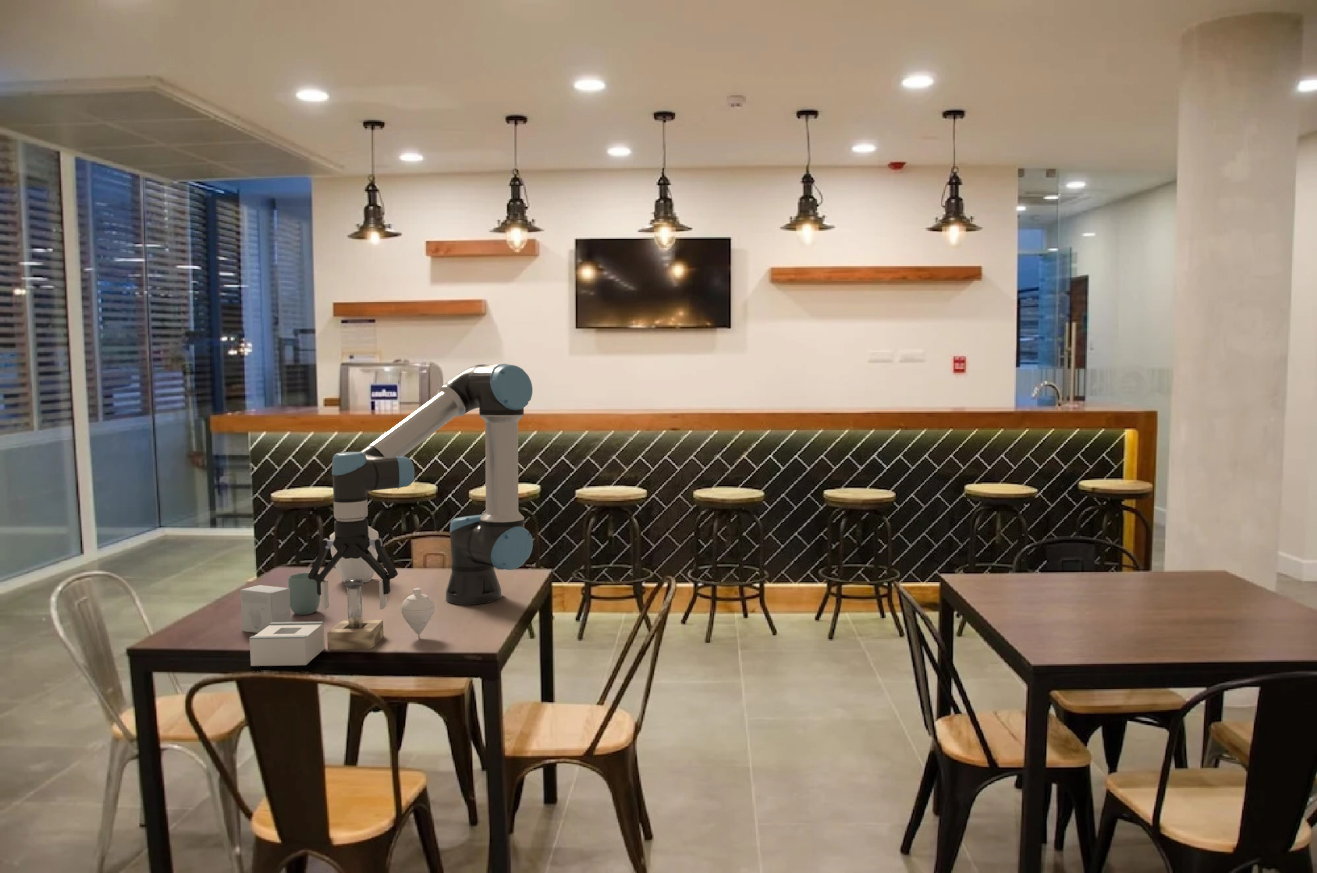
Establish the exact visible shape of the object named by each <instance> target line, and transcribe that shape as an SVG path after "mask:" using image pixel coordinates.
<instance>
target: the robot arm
mask: <svg viewBox="0 0 1317 873" xmlns="http://www.w3.org/2000/svg"><path fill="white" fill-rule="evenodd" d="M532 396H533V383H532V380H531V378H530V376H529V375H528V373H527V372H526V371H525V370H524V369H523V368H521V367H520V366H517V365H514V364H509V363H501V364H476V365H473V366H470V367H468V368H467V369H464V370H463V371H461V372H460V373H458V374H456V376H454V377H452V378H450V380H448V381H447V382H446V383H444V384H443V385H442V386H440V387H439V389H438V393H437V394H436V395H435V396H433V397H431V398H430V399H429V400H428V401H426V402H425V403H424V404H423V405H421V406H420V407H418V408H417V409H416V410H414V411H413V412H412V413H411V414H409V415H408V416H407V417H405V418H404V419H402V420H401V421H399V422H398V423H397V424H396V425H394V426H393V427H392V428H390V429H389V430H388V431H386V432H385V433H384V434H382V435H381V436H379V437H378V438H377V439H376V440H374V441H373V442H372V443H370V444H369V445H368V446H366V447H365V448H363V449H362V450H361V451H343V452H337V453H335V454H334V455H333V456H332V464H331V465H332V466H331V475H332V491H333V493H332V494H333V517H334V519H335V520H334V523H333V526H334V532H335V540H330V538H324V539H322V540H321V541H320V550H319V552H318V554H317V556H316V558H315V559H314V562H313V564H312V567H311V568H310V569H311V570H310V571H309V572H308V573H309V575H308V578H309V579H313V580H315V581H316V582H317V594H318V595H320V605H321V611H322V610H323V611H325V610H327V609H328V608H329V607H330V601H329V598H330V597H329V580H328V579H325V578H326V577H327V576H328V575H329V574H330V572H331V571H332V570H333V568H334V567H335V565H336V563H337V562H338V561H339V560H340V559H341V558H342V557H343V558H345V559H349V558H354V559H358V558H360V557H361V558H362V559H363V560H364V561H366V562H367V563H368V564H369V566H370V567H371V568H372V569H373V570H374V571H375V572H374V573H375V574H376V575H377V576H378V577H380V579H381V580H380V581H378V587H379V588H378V589H379V610H384V609H385V608H386V607H387V595H389V594H390V592H391V580H392V579H395V578H396V577H397V576H398V574H399V573H398V570H397V568H395V565H394V563H393V561H392V560H391V558H390V555H389V554H388V552H387V550H386V549H385V546H384V541H383V540H384V539H383V538H382V537H379V538H378V539H375V540H370V539H369V536H368V534H369V533H368V526H369V520H368V518H367V517H368V514H369V513H368V512H369V510H368V508H369V507H368V492H373V491H383V490H391V489H401V488H405V487H409V486H411V484H412V483H413V482H414V479H415V466H414V464H413V462H412V460H411V459H410V458H409V457H407V454H408V453H410V452H411V451H412V450H414V449H415V448H416V447H418V446H419V445H420V444H421V443H423V442H425V441H426V440H427V439H428V438H429V437H430V436H432V435H433V434H435V433H436V432H437V431H438V430H440V429H441V428H443V427H444V426H445V425H447V423H449V422H451V421H452V420H453V419H455V417H463V416H465V415H466V414H467V413H469V412H470V411H472V410H476V409H478V410H479V412H478V413H479V415H478V416H479V417H480V418H481V419H482V420H483V421H484V424H485V425H484V426H485V428H484V429H485V430H484V432H485V438H484V440H485V443H484V444H485V512H484V513H483V514H474V515H466V516H461V517H460V516H459V517H456V518H453V519H452V520H451V521H450V524H449V535H450V536H449V537H450V540H449V541H450V561H451V563H450V564H451V567H450V568H451V572H450V576H449V579H448V582H447V583H448V584H447V587H446V589H445V601H446V602H448V603H449V604H454V605H480V604H486V603H492V602H495V601H497V600H499V599H501V597H502V588H501V584H500V582H499V579H498V576H497V574H496V571H495V568H496V569H498V570H508V571H512V570H516V569H518V568H520V567H522V566H523V565H525V563H526V561H527V560H529V558H530V556H531V554H532V551H533V546H534V540H533V536H532V534H531V533H530V531H529V530H528V529H526V528H525V516H524V515H522V514H521V512H520V510H519V421H520V420H521V419H522V418H523V417H524V415H525V414H524V413H525V410H524V408H526V406H528V404H529V402H530V401H531V399H532ZM332 545H333V546H334V547H335V549H336V550H337V553H336V554H335V555H334V556H333V558H331V559H330V560H329V561H328V563H327V564H326V565H325V567H324V568H323V569H321V568H322V565H323V563H324V561H325V558H326V557H327V554H328V553H329V550H331V547H332ZM370 545H372V546H373V548H374V549H376V552H377V554H378V557H379V559H380V561H381V563H382V565H383V566H382V565H381V563H380V562H379V561H378V559H377V560H376V559H375V558H374V557H373V556H372V554H371V552H370V551H369V550H368V548H369V546H370ZM320 569H321V571H320ZM319 571H320V573H319Z"/></svg>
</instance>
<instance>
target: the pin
mask: <svg viewBox="0 0 1317 873" xmlns="http://www.w3.org/2000/svg"><path fill="white" fill-rule="evenodd" d="M362 586H364V583H363V579H361V578H351V579H347V580H345V583H344V587H345V588H346V595H347V596H346V598H347V599H346V600H347V616H348V617H347V620H348V626H349V629H363V620H364V618H363V603H362V602H363V598H362Z"/></svg>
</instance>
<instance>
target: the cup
mask: <svg viewBox="0 0 1317 873" xmlns="http://www.w3.org/2000/svg"><path fill="white" fill-rule="evenodd" d="M309 573H310V572H300V573H294V574H291V575H289V576H288V577H287V588H290V611H291V612H293V614H295V615H300V616H306V615H311V614H314V613H316V612H317V610H318V609H319V607H320V605H321V595H318V594H317V582H316V581H315V580H313V579H309V578H308V575H309Z"/></svg>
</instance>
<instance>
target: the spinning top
mask: <svg viewBox="0 0 1317 873" xmlns="http://www.w3.org/2000/svg"><path fill="white" fill-rule="evenodd" d="M412 592H413V593H412V594H410V595H409V596H407V597H406V599H404V601H403V602H402V605H401V606H400V607H401V608H400V610H401V611H400V612H401V614H402V617H403V618H404V620H405V622H406V623H407V624H408V626H409V627H410V629H412V630H413V632H414V633H415V634H417V639H420V638H421V637H420V636H421V635H422V634H421V633H423V631H424V630H425V628H426V627H427V626H428V624H429V622H430V621H431V620H432V617H433V615H434V612H435V604H434V603H435V602H434V601H433V600H432V599H431V598H430V596H429V595H427V594H425V593H424V594H423V593H422V588H421V587H416V588H413V589H412Z"/></svg>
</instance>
